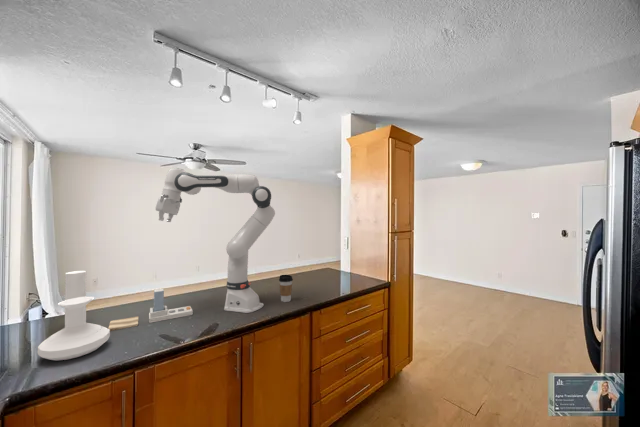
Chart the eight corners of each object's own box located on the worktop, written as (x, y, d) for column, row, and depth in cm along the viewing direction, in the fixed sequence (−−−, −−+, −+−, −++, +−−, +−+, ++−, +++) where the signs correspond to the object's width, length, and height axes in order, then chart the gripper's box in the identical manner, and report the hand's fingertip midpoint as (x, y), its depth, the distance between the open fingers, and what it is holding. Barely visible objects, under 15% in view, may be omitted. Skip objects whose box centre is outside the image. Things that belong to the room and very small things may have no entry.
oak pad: (110, 323, 125) (110, 320, 125) (138, 318, 131) (138, 316, 131) (107, 331, 116) (107, 329, 116) (137, 325, 122) (137, 323, 122)
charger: (153, 313, 132) (154, 289, 133) (163, 311, 135) (163, 288, 135) (154, 316, 128) (154, 292, 128) (163, 314, 130) (163, 290, 131)
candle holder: (122, 338, 109) (122, 292, 110) (79, 366, 89) (79, 310, 90) (73, 339, 109) (74, 293, 109) (19, 366, 89) (20, 310, 89)
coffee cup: (287, 297, 166) (287, 273, 166) (295, 300, 160) (295, 276, 160) (276, 300, 160) (276, 275, 160) (284, 303, 154) (284, 278, 154)
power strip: (149, 322, 125) (149, 313, 126) (149, 316, 133) (149, 308, 133) (192, 314, 136) (192, 306, 136) (190, 309, 144) (190, 301, 144)
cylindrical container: (62, 329, 117) (62, 274, 118) (68, 324, 124) (68, 271, 124) (82, 326, 121) (83, 273, 121) (87, 321, 127) (88, 270, 127)
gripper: (168, 194, 134) (162, 220, 132) (183, 200, 154) (178, 223, 152) (155, 192, 133) (149, 218, 131) (172, 198, 153) (166, 221, 151)
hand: (164, 221), depth 142 cm, fingers open, 8 cm apart
